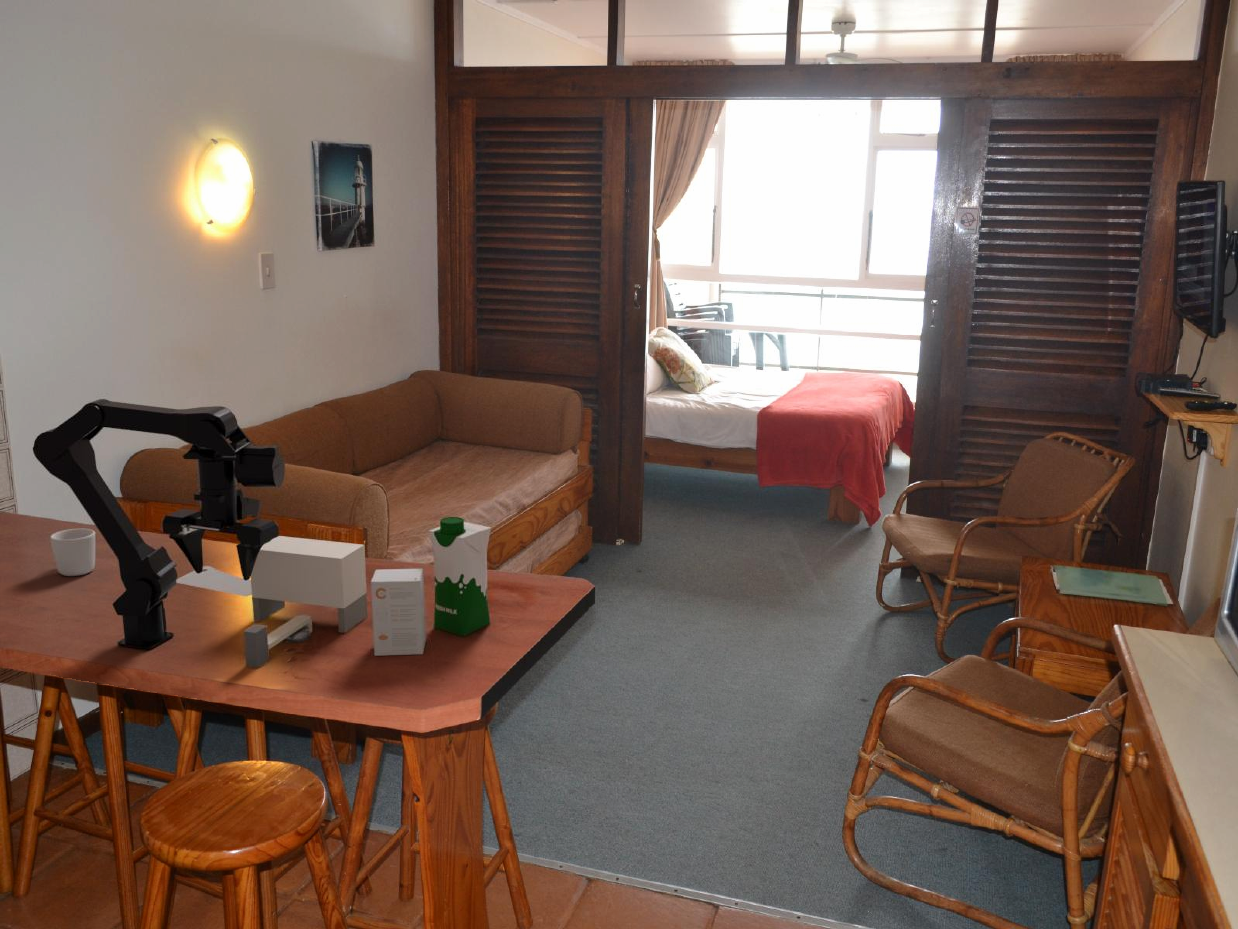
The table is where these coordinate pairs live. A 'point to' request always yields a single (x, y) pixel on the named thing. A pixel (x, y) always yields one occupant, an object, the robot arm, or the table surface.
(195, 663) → the table surface
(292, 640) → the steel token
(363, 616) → the cabinet
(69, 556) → the cup
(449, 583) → the milk carton
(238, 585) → the kitchen cleaver
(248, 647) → the grey mallet
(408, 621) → the small box
